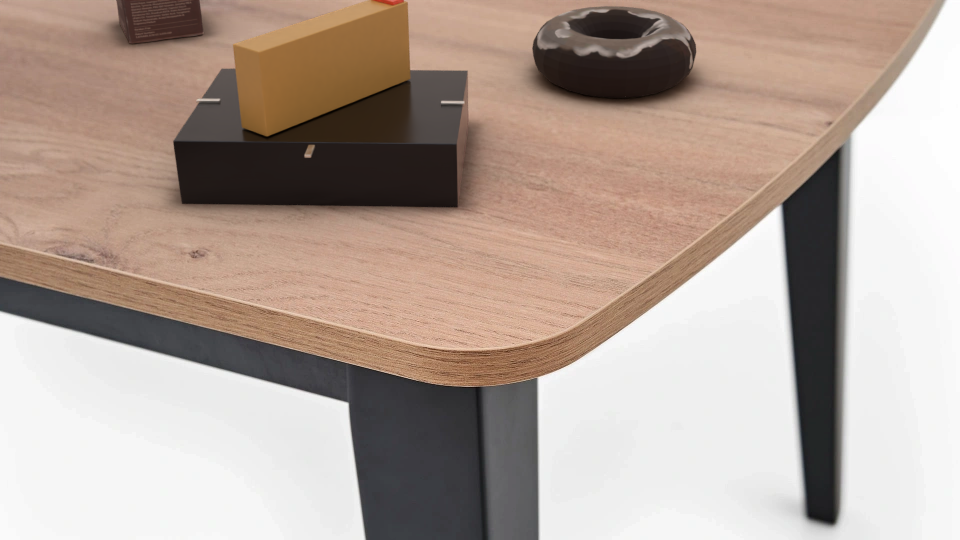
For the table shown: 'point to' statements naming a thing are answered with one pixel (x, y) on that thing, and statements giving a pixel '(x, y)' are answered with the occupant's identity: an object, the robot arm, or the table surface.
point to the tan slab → (321, 64)
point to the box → (159, 19)
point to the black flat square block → (331, 149)
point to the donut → (614, 51)
